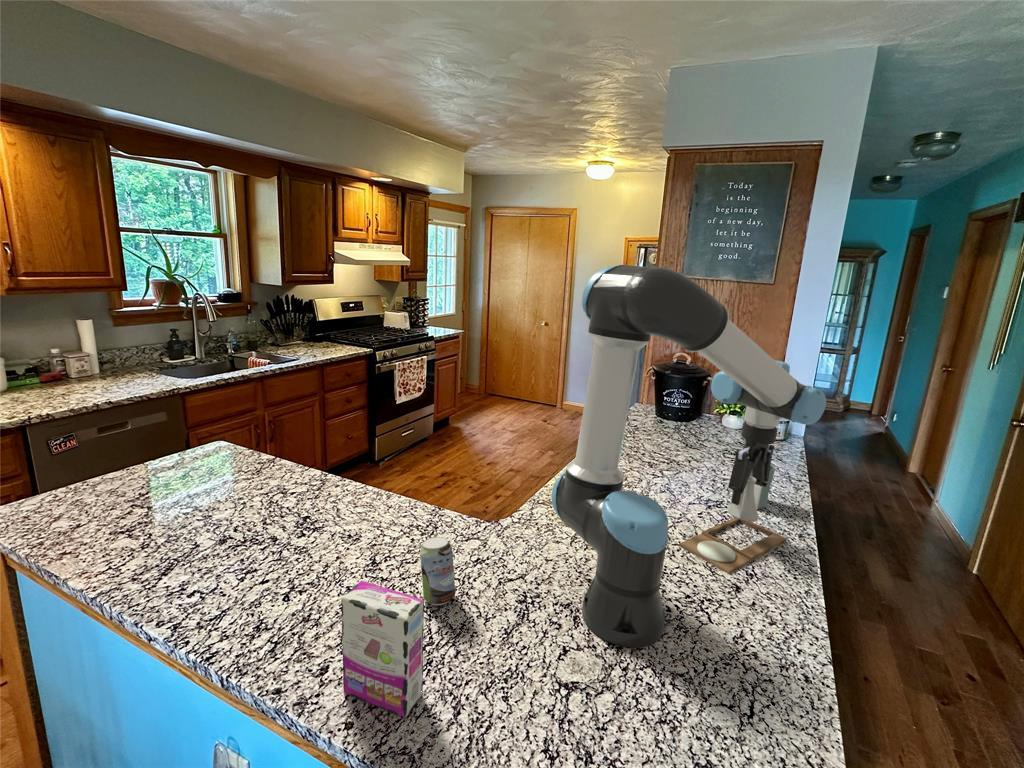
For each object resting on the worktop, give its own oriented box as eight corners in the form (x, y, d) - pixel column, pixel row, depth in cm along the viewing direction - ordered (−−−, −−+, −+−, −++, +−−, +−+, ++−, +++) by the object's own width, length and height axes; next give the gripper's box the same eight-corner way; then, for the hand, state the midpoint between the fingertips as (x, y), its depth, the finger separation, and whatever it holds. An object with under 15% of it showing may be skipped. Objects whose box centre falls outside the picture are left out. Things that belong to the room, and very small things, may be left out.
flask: (761, 524, 120) (769, 486, 118) (730, 519, 122) (737, 481, 120) (753, 511, 127) (761, 474, 125) (724, 506, 129) (731, 470, 126)
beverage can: (441, 614, 92) (443, 557, 89) (411, 599, 96) (412, 543, 93) (462, 597, 97) (464, 542, 94) (433, 583, 101) (434, 529, 98)
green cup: (759, 513, 140) (766, 473, 137) (724, 499, 147) (730, 461, 144) (773, 503, 146) (781, 465, 144) (739, 490, 154) (746, 454, 151)
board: (728, 573, 110) (729, 569, 110) (678, 545, 120) (679, 541, 120) (786, 541, 125) (787, 537, 125) (738, 519, 135) (738, 515, 135)
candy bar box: (424, 693, 75) (426, 598, 71) (406, 720, 71) (407, 620, 67) (362, 668, 79) (361, 577, 75) (341, 693, 74) (339, 597, 71)
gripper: (753, 434, 111) (735, 528, 116) (796, 424, 122) (778, 509, 127) (722, 424, 116) (706, 514, 122) (766, 415, 128) (749, 497, 133)
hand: (743, 511), depth 124 cm, fingers closed on flask, 7 cm apart
